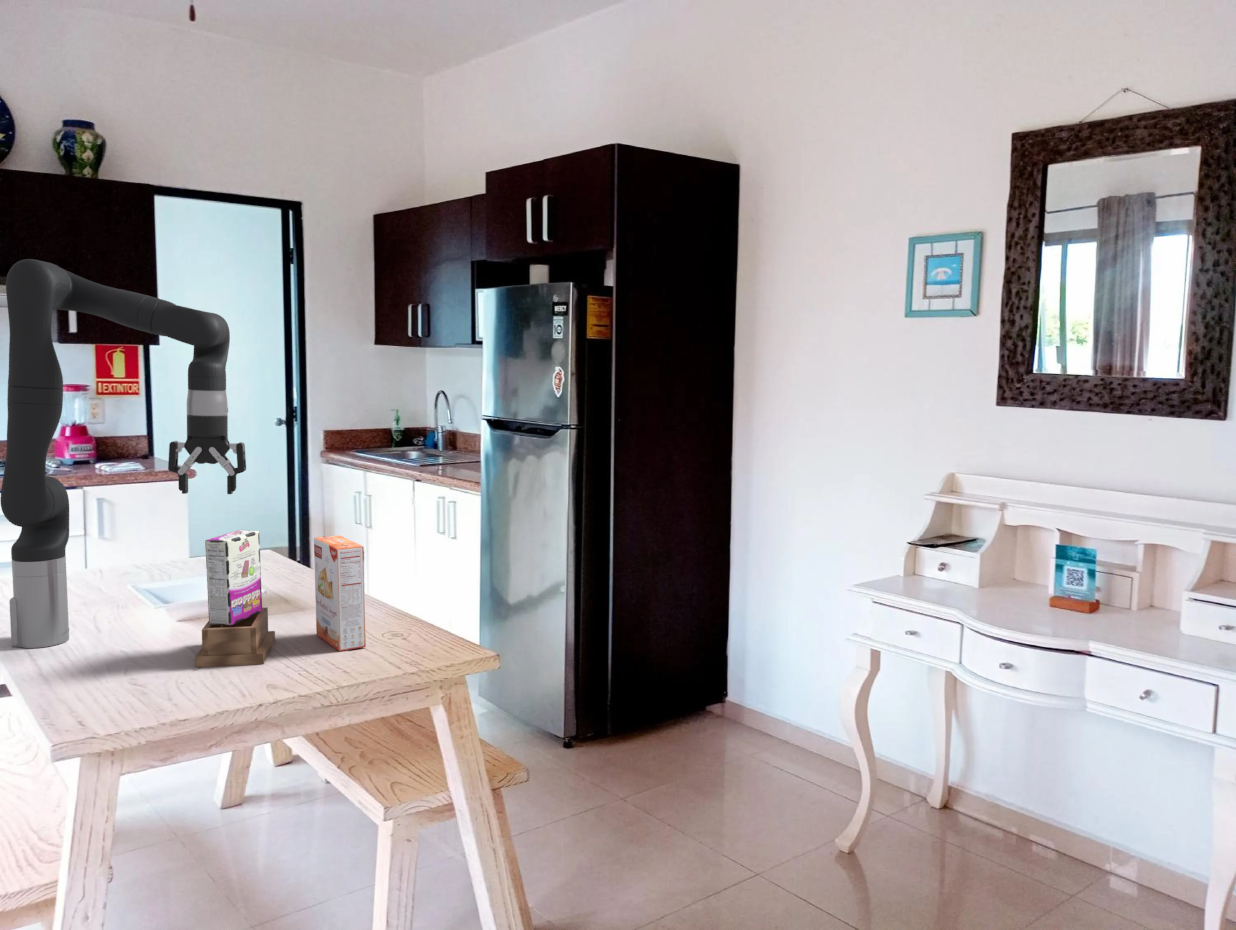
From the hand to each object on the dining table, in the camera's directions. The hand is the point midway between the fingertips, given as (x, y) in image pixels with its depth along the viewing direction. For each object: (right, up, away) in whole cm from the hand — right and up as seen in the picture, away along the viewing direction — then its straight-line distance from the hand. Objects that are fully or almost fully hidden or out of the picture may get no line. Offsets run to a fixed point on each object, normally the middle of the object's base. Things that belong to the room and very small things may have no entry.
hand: (207, 493), depth 194 cm
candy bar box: (+8, -24, -7) cm, 26 cm away
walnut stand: (+8, -31, -6) cm, 33 cm away
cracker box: (+26, -31, +3) cm, 40 cm away
